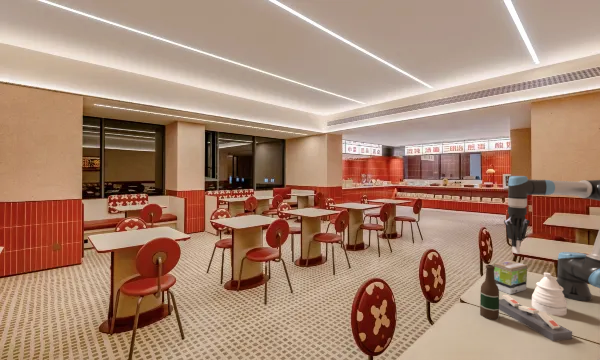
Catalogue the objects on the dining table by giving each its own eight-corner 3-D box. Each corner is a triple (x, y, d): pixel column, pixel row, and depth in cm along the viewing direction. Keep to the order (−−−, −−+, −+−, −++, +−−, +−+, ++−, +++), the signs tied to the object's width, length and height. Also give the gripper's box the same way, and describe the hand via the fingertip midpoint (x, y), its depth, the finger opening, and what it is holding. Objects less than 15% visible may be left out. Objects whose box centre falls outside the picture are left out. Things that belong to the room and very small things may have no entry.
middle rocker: (518, 309, 130) (518, 306, 130) (524, 308, 130) (523, 305, 131) (533, 313, 123) (532, 310, 123) (539, 313, 124) (538, 309, 124)
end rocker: (537, 314, 121) (539, 312, 120) (543, 313, 121) (545, 311, 121) (552, 329, 115) (554, 327, 114) (559, 328, 115) (560, 326, 115)
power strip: (492, 305, 141) (493, 298, 140) (508, 304, 142) (508, 296, 142) (553, 341, 112) (553, 331, 112) (571, 338, 113) (572, 329, 113)
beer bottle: (502, 321, 127) (504, 269, 126) (483, 319, 128) (484, 267, 127) (494, 312, 134) (495, 263, 133) (476, 310, 136) (477, 262, 135)
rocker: (501, 296, 139) (502, 294, 139) (506, 296, 139) (507, 294, 139) (514, 306, 132) (514, 304, 132) (519, 306, 133) (520, 303, 132)
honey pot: (555, 317, 129) (556, 279, 128) (525, 305, 141) (526, 270, 141) (573, 313, 133) (574, 276, 133) (542, 300, 146) (543, 267, 145)
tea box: (511, 295, 152) (512, 268, 152) (492, 288, 161) (492, 262, 161) (527, 290, 159) (527, 264, 158) (507, 283, 168) (508, 259, 167)
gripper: (521, 205, 145) (520, 250, 146) (499, 205, 143) (498, 251, 144) (535, 207, 138) (534, 254, 139) (512, 208, 136) (511, 255, 137)
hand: (515, 252), depth 141 cm, fingers closed
